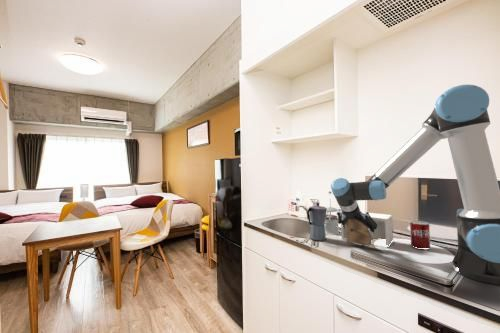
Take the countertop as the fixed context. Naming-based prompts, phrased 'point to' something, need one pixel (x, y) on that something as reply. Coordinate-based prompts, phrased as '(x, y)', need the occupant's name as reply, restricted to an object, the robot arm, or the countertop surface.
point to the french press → (331, 221)
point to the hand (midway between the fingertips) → (360, 232)
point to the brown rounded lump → (357, 232)
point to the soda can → (420, 234)
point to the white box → (382, 230)
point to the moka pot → (317, 222)
